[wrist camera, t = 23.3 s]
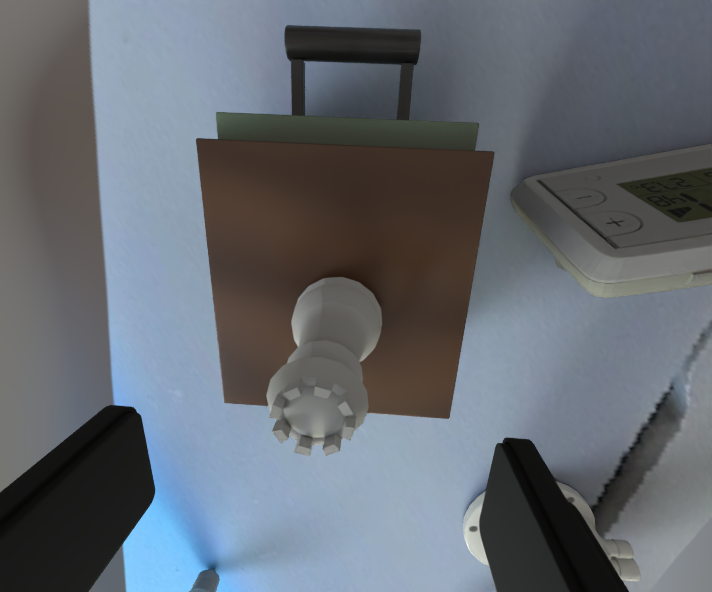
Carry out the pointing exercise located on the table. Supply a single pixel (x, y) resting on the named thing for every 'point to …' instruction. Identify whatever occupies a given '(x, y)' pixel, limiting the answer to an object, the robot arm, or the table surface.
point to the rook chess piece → (326, 366)
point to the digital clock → (627, 221)
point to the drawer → (343, 130)
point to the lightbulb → (206, 581)
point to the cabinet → (344, 257)
